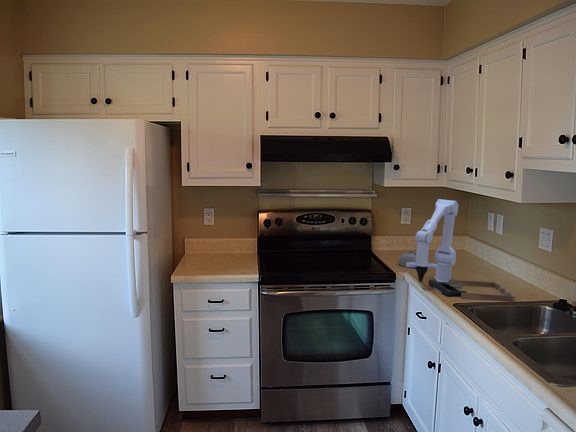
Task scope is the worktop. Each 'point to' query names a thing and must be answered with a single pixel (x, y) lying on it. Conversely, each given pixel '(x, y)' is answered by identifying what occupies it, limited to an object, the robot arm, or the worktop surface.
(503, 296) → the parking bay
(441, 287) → the door handle
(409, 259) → the grey rounded bag
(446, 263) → the robot arm
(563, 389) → the worktop surface
